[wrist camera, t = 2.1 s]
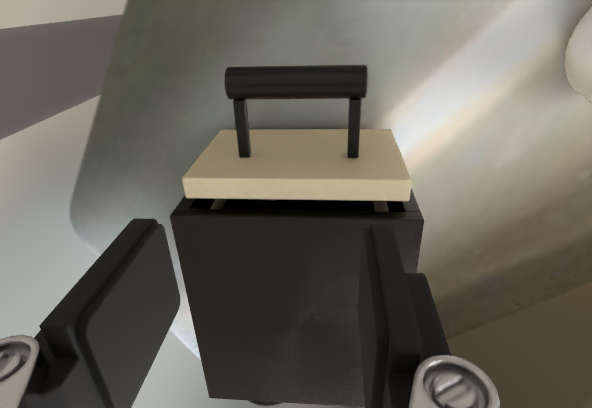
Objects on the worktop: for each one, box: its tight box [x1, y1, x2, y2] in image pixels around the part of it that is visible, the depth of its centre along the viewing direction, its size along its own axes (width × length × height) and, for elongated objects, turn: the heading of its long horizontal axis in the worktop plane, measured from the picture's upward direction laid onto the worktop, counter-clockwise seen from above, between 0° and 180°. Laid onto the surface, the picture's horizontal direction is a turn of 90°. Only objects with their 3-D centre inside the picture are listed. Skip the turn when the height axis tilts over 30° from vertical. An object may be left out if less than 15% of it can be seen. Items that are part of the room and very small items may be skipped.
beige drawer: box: [182, 65, 412, 212], centre depth 24 cm, size 18×11×8 cm, turn 2°
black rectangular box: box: [170, 189, 424, 407], centre depth 27 cm, size 15×13×10 cm
